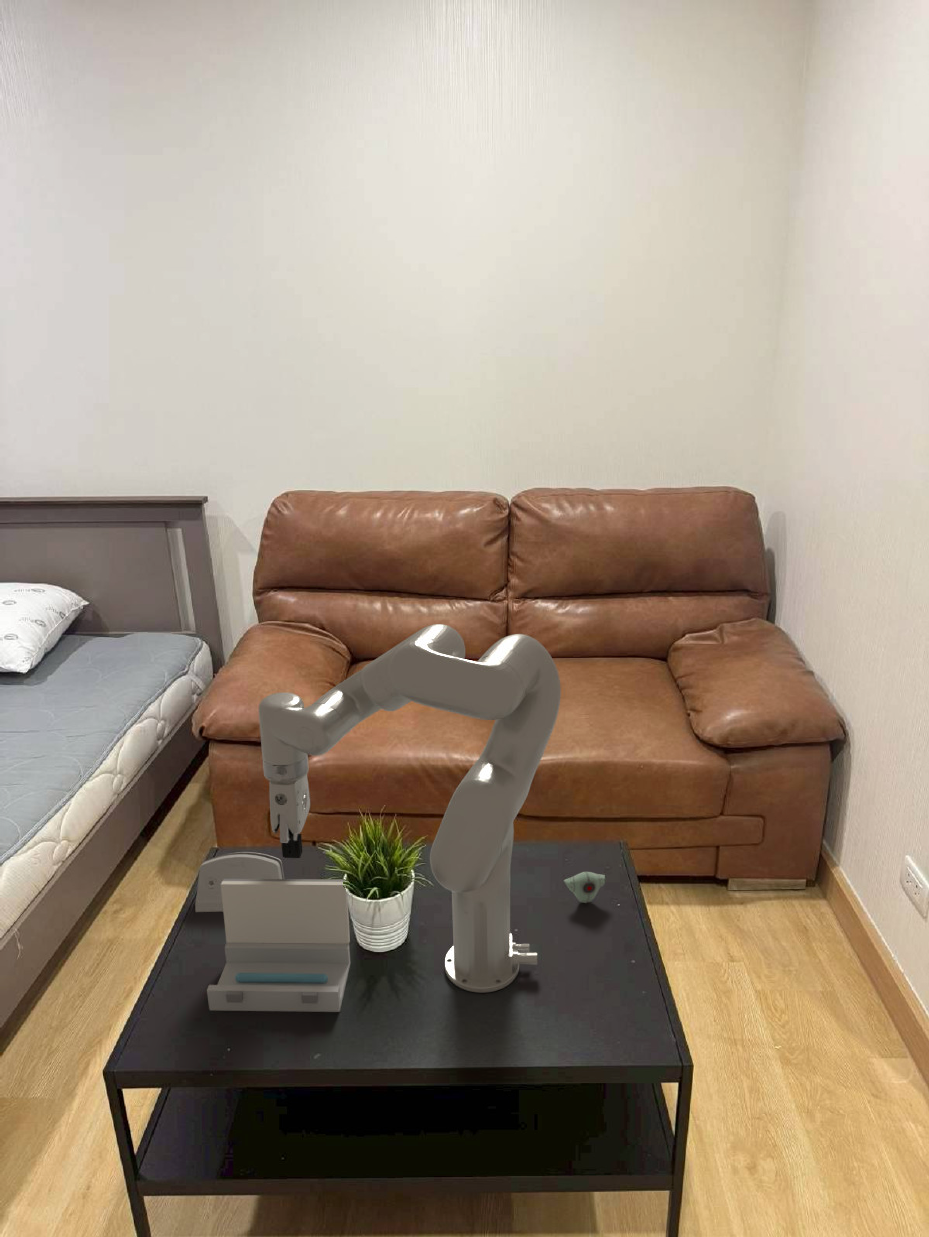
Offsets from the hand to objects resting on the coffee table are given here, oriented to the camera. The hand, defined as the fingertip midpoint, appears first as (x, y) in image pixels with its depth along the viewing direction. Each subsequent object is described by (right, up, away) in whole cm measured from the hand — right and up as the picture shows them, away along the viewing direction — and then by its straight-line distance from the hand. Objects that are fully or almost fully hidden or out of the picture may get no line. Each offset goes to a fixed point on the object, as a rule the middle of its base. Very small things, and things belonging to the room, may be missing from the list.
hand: (292, 855), depth 159 cm
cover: (0, -8, -8) cm, 11 cm away
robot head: (+53, -11, +8) cm, 55 cm away
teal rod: (0, -18, -11) cm, 21 cm away
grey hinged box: (0, -19, -10) cm, 22 cm away
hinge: (-12, -12, +12) cm, 20 cm away
